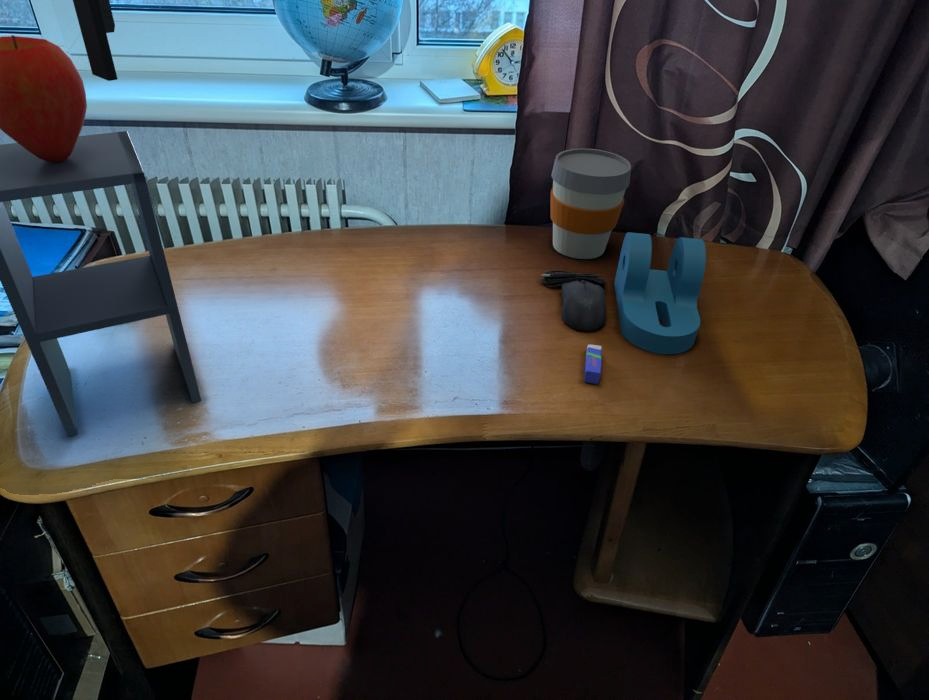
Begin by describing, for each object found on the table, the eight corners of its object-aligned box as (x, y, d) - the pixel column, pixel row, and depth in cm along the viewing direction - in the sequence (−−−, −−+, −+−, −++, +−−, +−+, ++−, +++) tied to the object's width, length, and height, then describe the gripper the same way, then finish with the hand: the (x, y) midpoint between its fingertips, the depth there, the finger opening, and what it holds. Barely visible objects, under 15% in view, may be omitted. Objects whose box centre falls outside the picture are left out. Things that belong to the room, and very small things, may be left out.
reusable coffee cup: (630, 250, 113) (649, 166, 104) (581, 272, 106) (597, 183, 97) (575, 223, 120) (589, 142, 112) (527, 242, 114) (537, 157, 105)
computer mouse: (549, 331, 92) (553, 308, 90) (539, 278, 104) (542, 256, 102) (621, 334, 93) (626, 311, 90) (602, 280, 104) (607, 259, 102)
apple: (-13, 157, 62) (-63, 31, 55) (80, 137, 67) (44, 20, 60) (23, 185, 57) (-26, 51, 51) (120, 161, 62) (86, 37, 56)
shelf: (201, 400, 77) (143, 171, 61) (67, 437, 72) (-37, 195, 55) (182, 345, 86) (127, 130, 69) (61, 374, 80) (-32, 147, 63)
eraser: (600, 357, 88) (603, 345, 87) (598, 385, 83) (601, 372, 82) (585, 355, 88) (588, 343, 87) (582, 382, 84) (585, 370, 82)
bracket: (614, 282, 104) (627, 221, 98) (681, 289, 103) (699, 228, 97) (622, 349, 90) (638, 283, 83) (700, 358, 89) (722, 292, 83)
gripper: (77, -254, 48) (145, 58, 60) (-448, -338, 32) (-207, 111, 44) (131, -259, 44) (192, 75, 57) (-432, -358, 28) (-174, 138, 40)
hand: (17, 91), depth 50 cm, fingers open, 13 cm apart
